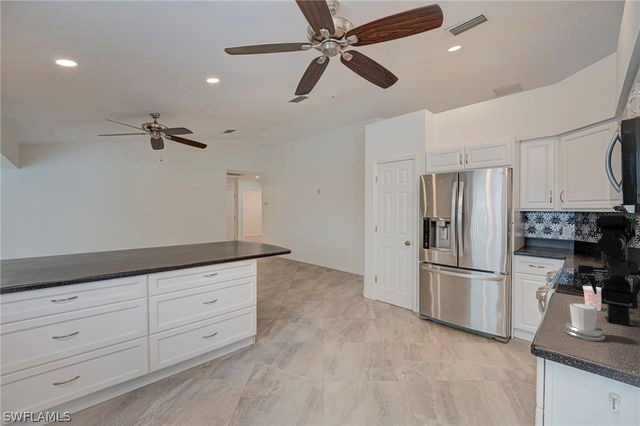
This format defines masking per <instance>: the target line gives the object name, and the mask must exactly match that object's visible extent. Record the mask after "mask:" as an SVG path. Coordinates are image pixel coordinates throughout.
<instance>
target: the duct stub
mask: <svg viewBox="0 0 640 426" xmlns="http://www.w3.org/2000/svg"><path fill="white" fill-rule="evenodd" d="M563 333H565V334H567V335H568V336H570V337H573V338H576V339H580V340H583V341H587V342H595V343H596V342H597V343H599V342H604V341H605V340H606V335H605V334H604V333H603V329H602V328H601V327H598V326H596V328H595V330H584V329H579V328H576V327H574V326H573V325H572V321H566V322H565V326H564V327H563Z"/></svg>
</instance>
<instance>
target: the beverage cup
mask: <svg viewBox="0 0 640 426" xmlns="http://www.w3.org/2000/svg"><path fill="white" fill-rule="evenodd" d="M601 288H602V287H598V286H596V289H597V294H595V293H594V291H593V289H592V287H591V285H582V289H583V294H584V304H586V305H591V306H594V307H596V308H598V310H597V312H599V311H601V309H602V308H601V307H602V302H601Z"/></svg>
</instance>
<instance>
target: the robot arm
mask: <svg viewBox="0 0 640 426" xmlns="http://www.w3.org/2000/svg"><path fill="white" fill-rule="evenodd" d="M595 234H596V235H601V237H600V238H599V239H598V240H597V242H596V243H597V244H596V245H597V248H598V249H599V250H600V252H601V267H600V266H593V265H592V264H591V263H579V262H578V263H576V266H575V271H576V272H577V273H578V274H581V275H582V276H583V277H586V278H587V280H588V282H589V284H590V286H591V287H592V289H593V291H594V293H595V294H597V289H596V287H597V284H596V279H595V278H596V275H595V274H594V273H602V274H608V275H609V278H605V279H604V282H603V287H600V288H601V305H606V308H607V311H606V313H607V315H604V319H605V320H606V321H607V322H608V323H610V324H611V323H612V324H617V325H623V326H627V327H628V326H629V327H634V324H633V323H632V322H631V310H630V309H632V310H637V309H639V300H638V294H639V292H640V267H639V262H638V261H633V260H632V261H628V248H629V247H630V246H632V244H634V242H635V241H634V239H635V238H637V224H636V223H635V221H633V220H632V219H631V218H630V217H629V215H628V213H610V214H600V215H599V217H597V218H596V227H595ZM630 276H633V278H632V285H631V283H630V281H628V280H627V278H628V277H630Z"/></svg>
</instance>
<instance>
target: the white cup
mask: <svg viewBox="0 0 640 426" xmlns="http://www.w3.org/2000/svg"><path fill="white" fill-rule="evenodd" d="M597 310H598V308H596V307H594V306H591V305H586V304H585V303H580V302H579V303H578V302H570V303H569V311H570V318H571V322H572V325H573V326H574V327H576V328H579V329H584V330H595V328H596V327H597V319H598V318H597V316H598V311H597Z"/></svg>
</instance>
